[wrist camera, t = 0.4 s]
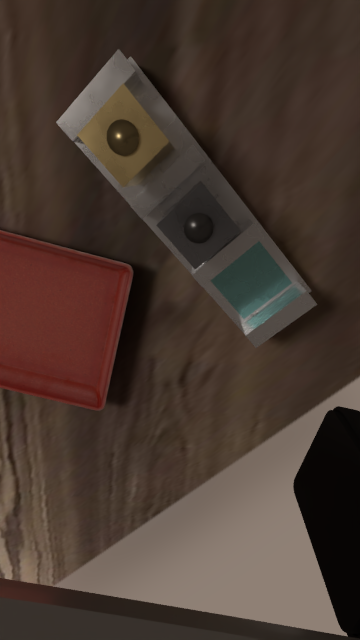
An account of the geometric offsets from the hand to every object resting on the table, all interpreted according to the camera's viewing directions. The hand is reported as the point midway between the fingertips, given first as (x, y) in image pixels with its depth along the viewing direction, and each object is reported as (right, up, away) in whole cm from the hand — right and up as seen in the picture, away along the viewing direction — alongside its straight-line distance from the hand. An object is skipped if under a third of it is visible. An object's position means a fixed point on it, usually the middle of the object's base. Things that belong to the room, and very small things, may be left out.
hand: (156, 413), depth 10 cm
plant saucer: (-15, +3, +30) cm, 34 cm away
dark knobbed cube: (+2, +12, +23) cm, 26 cm away
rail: (+2, +13, +25) cm, 28 cm away
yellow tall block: (-3, +18, +21) cm, 27 cm away
